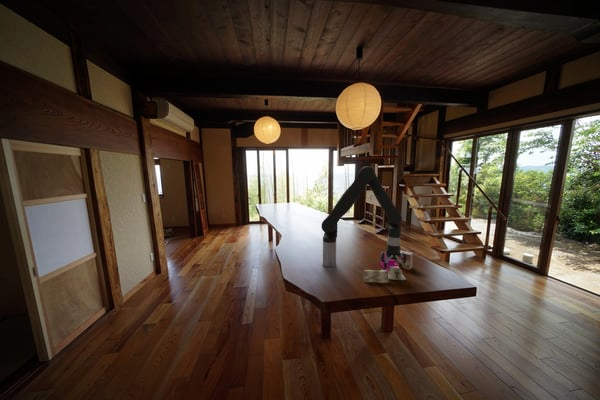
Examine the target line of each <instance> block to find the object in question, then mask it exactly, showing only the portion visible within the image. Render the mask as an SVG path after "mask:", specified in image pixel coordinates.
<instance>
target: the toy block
mask: <svg viewBox="0 0 600 400" xmlns="http://www.w3.org/2000/svg"><path fill="white" fill-rule="evenodd" d="M386 256H387V255H385V256H384V259H385V258H386ZM380 265H381V266H382V268H384V262H382V261H381V256H380ZM389 266H398V265H397V263H396V262H395V260H391V259H390V260H389V261H388V262H387V269H385V270H387V271H388V272H389Z"/></svg>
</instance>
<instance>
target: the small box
mask: <svg viewBox="0 0 600 400" xmlns="http://www.w3.org/2000/svg"><path fill="white" fill-rule="evenodd" d="M402 252H404V253H405V254H406V263H402V269H405V270H408V271H410V270H411V269H413V256H414V255H413V254H414V252H411V251H406V250H402V249H400V253H402ZM399 258H400V260H402V256H401V255H400V257H399ZM396 264H397V265H398V267H399V261H398V260H397V263H396Z"/></svg>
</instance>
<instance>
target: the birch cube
mask: <svg viewBox="0 0 600 400" xmlns="http://www.w3.org/2000/svg"><path fill="white" fill-rule="evenodd" d="M402 274H403V270H402V269H400V268H399V267H398V266H389V276H390V277H391V278H392V279H401V278H402ZM392 279H391V280H392Z"/></svg>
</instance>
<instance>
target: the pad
mask: <svg viewBox="0 0 600 400" xmlns="http://www.w3.org/2000/svg"><path fill="white" fill-rule="evenodd" d="M379 271H387V270H386V269H380V270H379ZM388 280H395V281H396V280H397V281H399V280H400V281H406V280H407V278H406V277H405V276H404V274H403V273H402V278H401V279H392V278H391V277H390V276H389V273H388Z"/></svg>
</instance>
